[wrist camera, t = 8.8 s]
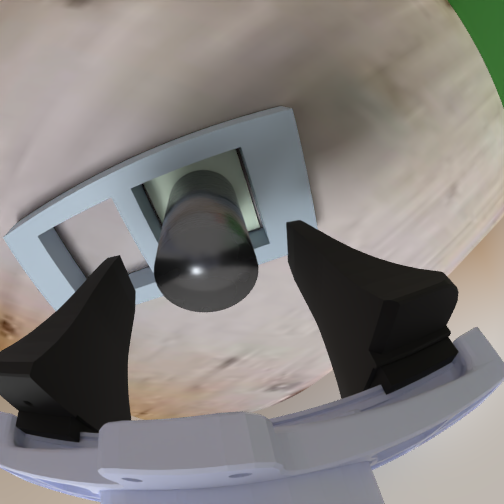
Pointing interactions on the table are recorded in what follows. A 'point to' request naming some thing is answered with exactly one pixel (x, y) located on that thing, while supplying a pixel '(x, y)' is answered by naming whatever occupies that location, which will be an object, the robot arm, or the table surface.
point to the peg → (204, 245)
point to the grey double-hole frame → (159, 187)
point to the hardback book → (486, 34)
